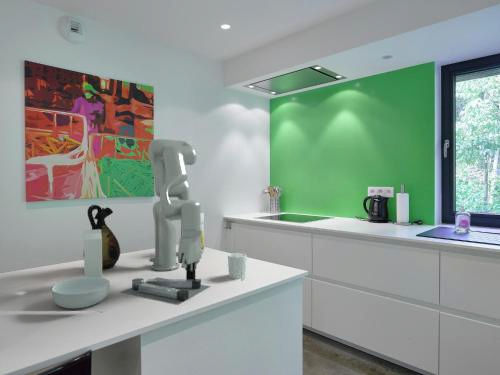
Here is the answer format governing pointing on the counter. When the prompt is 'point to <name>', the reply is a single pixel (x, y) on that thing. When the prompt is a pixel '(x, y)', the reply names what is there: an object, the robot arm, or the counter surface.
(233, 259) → the white cup
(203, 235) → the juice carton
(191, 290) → the slate board
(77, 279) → the cereal bowl
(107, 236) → the ceramic jug
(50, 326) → the counter surface
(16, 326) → the counter surface
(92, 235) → the milk
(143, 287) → the bar
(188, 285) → the moving tong arm
